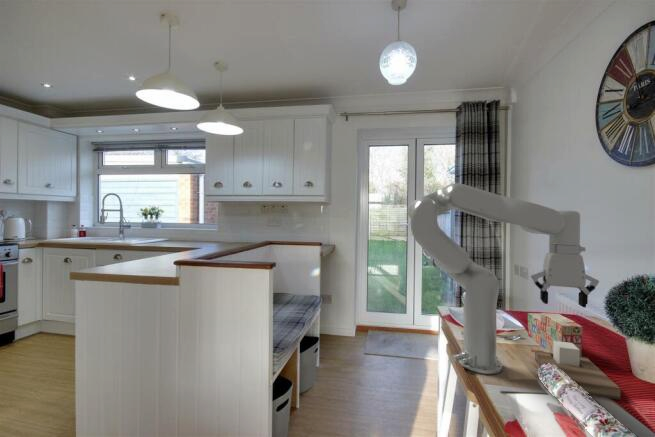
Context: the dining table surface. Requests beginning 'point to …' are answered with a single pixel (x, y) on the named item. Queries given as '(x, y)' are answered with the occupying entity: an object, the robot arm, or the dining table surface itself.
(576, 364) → the cream block
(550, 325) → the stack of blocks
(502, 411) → the dining table surface
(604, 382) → the walnut puzzle board
